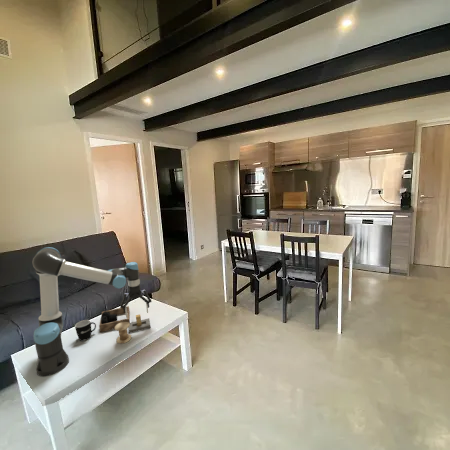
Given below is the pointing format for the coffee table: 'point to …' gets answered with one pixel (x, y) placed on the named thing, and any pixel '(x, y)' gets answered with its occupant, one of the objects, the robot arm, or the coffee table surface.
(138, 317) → the block
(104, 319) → the film camera
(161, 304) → the coffee table surface
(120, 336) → the wooden spool
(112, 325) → the caddy
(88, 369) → the coffee table surface
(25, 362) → the coffee table surface
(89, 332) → the mug
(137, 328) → the board
